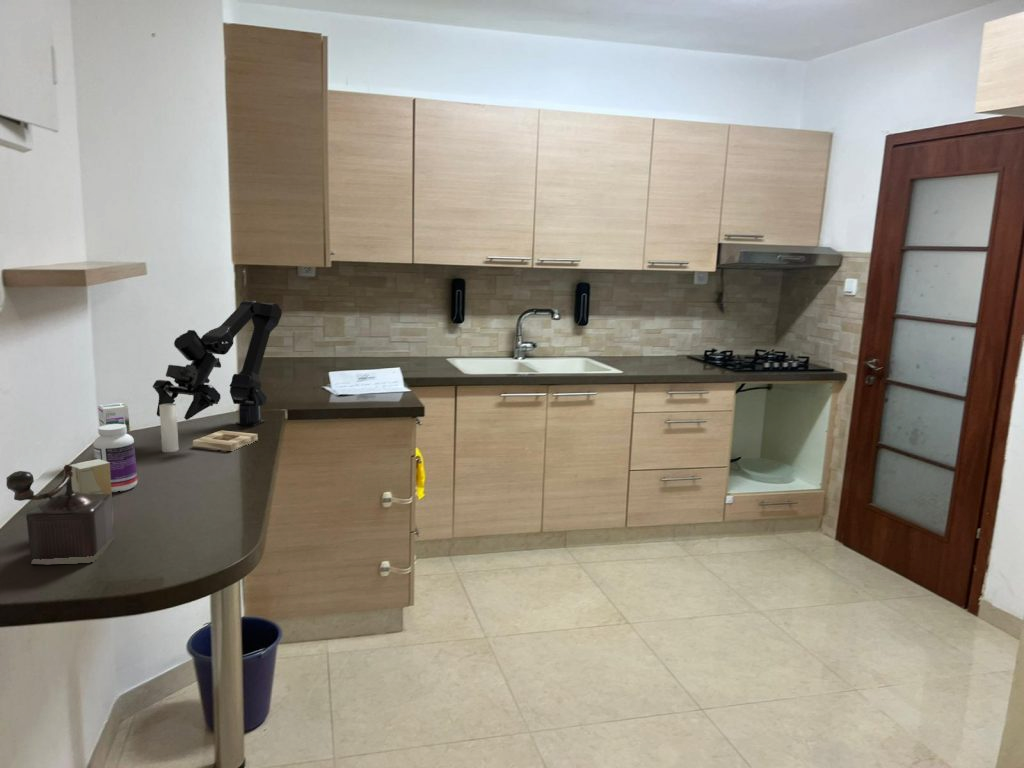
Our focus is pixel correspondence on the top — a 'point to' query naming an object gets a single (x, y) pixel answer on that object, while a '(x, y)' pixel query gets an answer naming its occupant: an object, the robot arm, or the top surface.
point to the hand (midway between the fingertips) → (171, 417)
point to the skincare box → (92, 477)
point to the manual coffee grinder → (64, 518)
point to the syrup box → (114, 415)
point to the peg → (168, 427)
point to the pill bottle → (117, 455)
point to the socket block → (225, 440)
